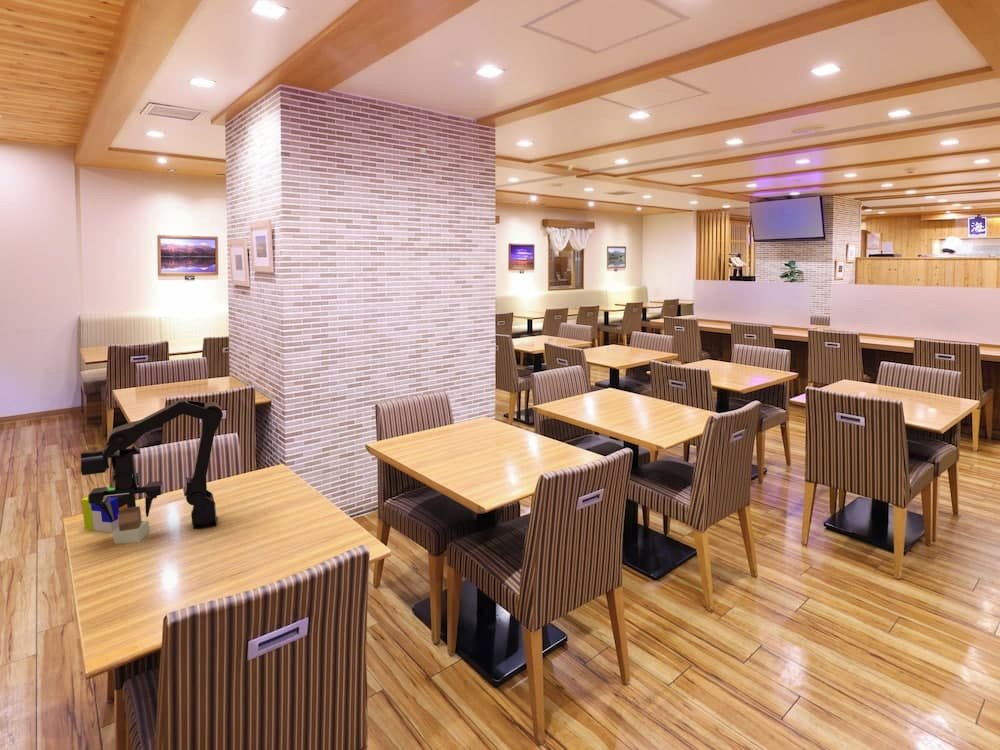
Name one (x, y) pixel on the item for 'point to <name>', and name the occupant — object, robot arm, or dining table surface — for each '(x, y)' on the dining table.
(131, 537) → the base block
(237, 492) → the dining table surface
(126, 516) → the walnut cube
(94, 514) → the puzzle toy
